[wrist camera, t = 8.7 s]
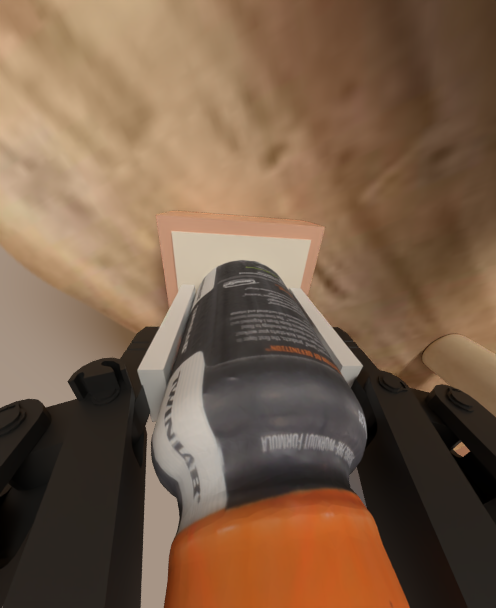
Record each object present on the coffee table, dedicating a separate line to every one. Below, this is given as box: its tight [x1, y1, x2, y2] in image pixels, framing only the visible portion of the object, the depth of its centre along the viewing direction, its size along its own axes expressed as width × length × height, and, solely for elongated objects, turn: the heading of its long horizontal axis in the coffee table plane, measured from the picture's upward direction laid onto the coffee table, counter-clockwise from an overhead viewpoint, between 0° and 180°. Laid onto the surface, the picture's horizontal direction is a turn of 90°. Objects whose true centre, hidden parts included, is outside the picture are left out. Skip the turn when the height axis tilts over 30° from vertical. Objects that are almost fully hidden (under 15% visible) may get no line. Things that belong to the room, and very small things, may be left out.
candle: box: [422, 334, 496, 417], centre depth 20 cm, size 6×6×10 cm
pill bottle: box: [151, 260, 410, 608], centre depth 8 cm, size 6×6×11 cm
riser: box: [156, 211, 325, 308], centre depth 15 cm, size 10×10×4 cm
